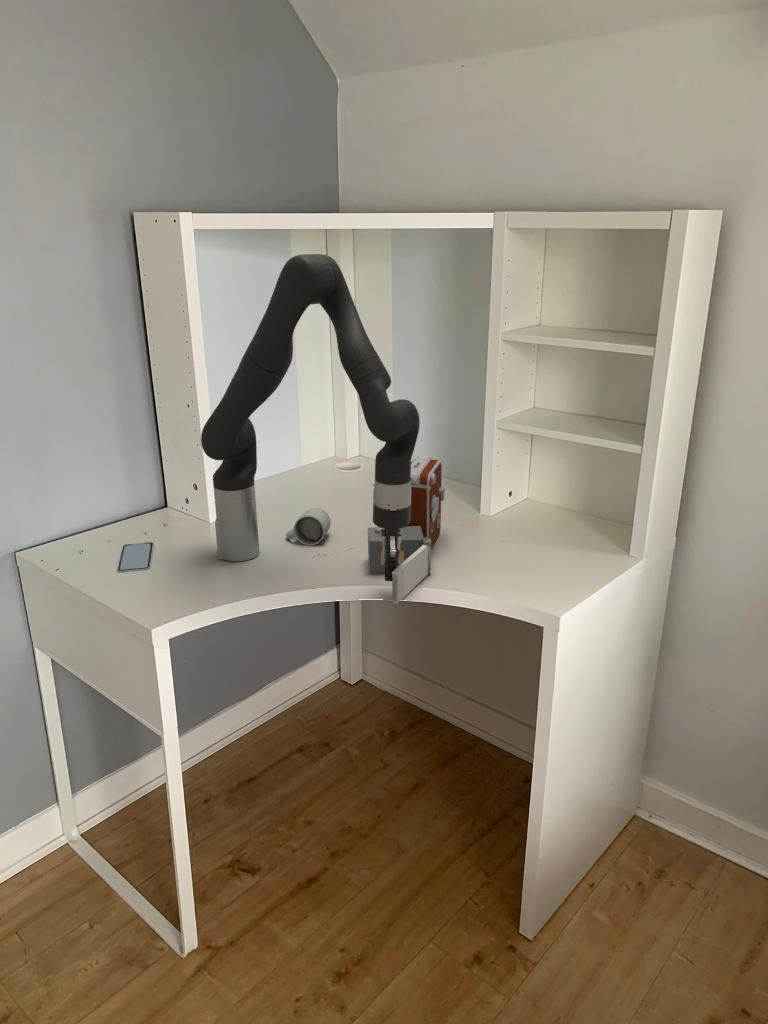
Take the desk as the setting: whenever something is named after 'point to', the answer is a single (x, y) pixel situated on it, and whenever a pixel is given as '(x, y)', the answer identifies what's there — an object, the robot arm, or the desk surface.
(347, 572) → the desk surface
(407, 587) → the side door
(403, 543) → the block
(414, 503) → the cine camera
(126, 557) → the smartphone
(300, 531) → the ceramic mug
